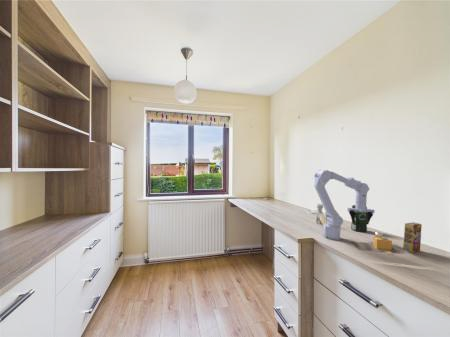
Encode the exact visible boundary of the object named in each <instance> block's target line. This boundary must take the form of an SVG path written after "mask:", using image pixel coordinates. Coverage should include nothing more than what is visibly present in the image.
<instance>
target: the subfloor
mask: <svg viewBox="0 0 450 337" xmlns="http://www.w3.org/2000/svg"><path fill="white" fill-rule="evenodd" d="M349 241H350V243H351V244H352V245H353V246H354V247H355V248H356V249H358V250H359V251H369V252H377V253H386V254H387V255H389V256H390V255H391V256H395V255H402V253H401V252H400V251H399V250H397V249H396V248H394V247H392V250H386V249H377V248H375V247H374V246H373V244H374V241H371V242H365V241H364V242H362V241H354V240H349Z"/></svg>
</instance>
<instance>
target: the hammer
mask: <svg viewBox="0 0 450 337" xmlns="http://www.w3.org/2000/svg"><path fill="white" fill-rule="evenodd" d="M323 208H324V206H323V204H322V203H317V205H316V211H315V224H316V225H322V227H323V226H324V224H328V221H327V220H326V215H324V212H323V211H322V210H323Z"/></svg>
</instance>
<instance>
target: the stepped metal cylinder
mask: <svg viewBox="0 0 450 337" xmlns="http://www.w3.org/2000/svg"><path fill="white" fill-rule="evenodd" d="M374 237H378V238H383V233H382V232H380V231H375V232H374Z"/></svg>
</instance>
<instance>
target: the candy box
mask: <svg viewBox="0 0 450 337" xmlns="http://www.w3.org/2000/svg"><path fill="white" fill-rule="evenodd" d="M422 225H423V224H421V223H419V222H406V223H404V231H403V232H404V235H403V245H402V246H403V250H404V251H406V252H407V253H410V254H413V253H417V252H420V251H421V243H422V242H421V241H422V240H421V239H422V227H423V226H422Z"/></svg>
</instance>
